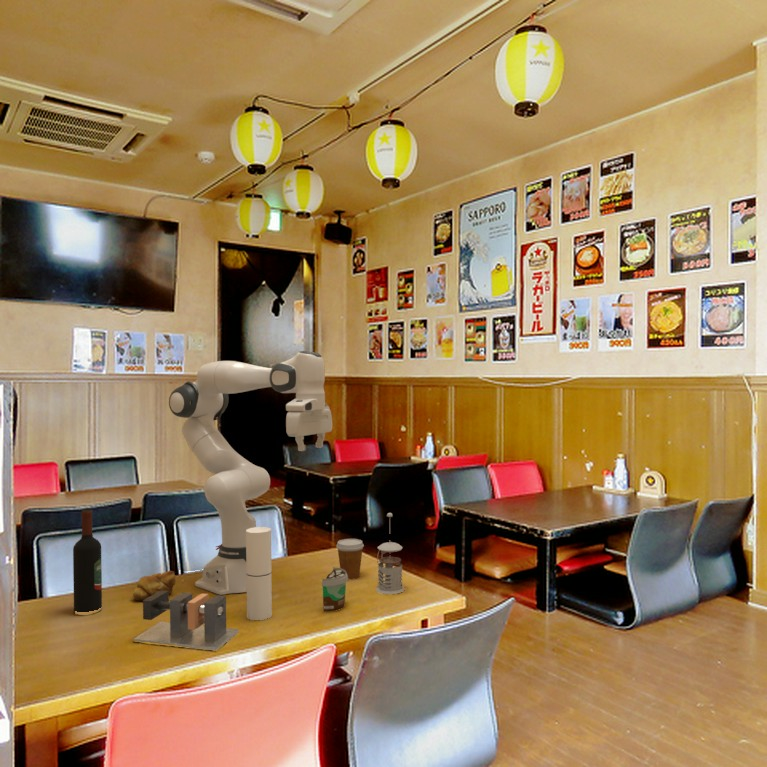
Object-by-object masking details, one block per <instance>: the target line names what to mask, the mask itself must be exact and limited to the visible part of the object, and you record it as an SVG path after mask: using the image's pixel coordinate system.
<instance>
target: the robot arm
mask: <svg viewBox="0 0 767 767" xmlns="http://www.w3.org/2000/svg"><path fill="white" fill-rule="evenodd" d="M325 372H326V371H325V361H324V358H323V356H322V355H321V354H320V353H319V352H314V351H309V350H301V351H299V352H297V353H296V354H295V355H294V356H293V357H291V358H290V359H287V360H284V361H282V362H279V363H276V364H274V365H273V366H272V367H265V366H261V365H255V364H251V363H246V362H241V361H237V360H217V361H211V362H207V363H205V364H203V365H201V366H200V368H198V370H197V373H196V380H194V382H191V381H186V382H185V383H183V384H182V385H181V386H178V387H176V388H175V389H174V390H173V391H172V392H171V393H170V396H169V398H168V406H169V409H170V411H171V413H172V414H173V415H174V416H176V417H179V418H184V419H186V420H185V421H184V422H183V425H182V428H181V432H182V435H183V438H184V439H185V442H186V443H187V445H188V447H189V448H190V450H191V452H192V453H193V455H194V456H195V457H196V459H197V460H198V462H199V463H200V464H201V465H202V467H203V468H204V469H205V470H206V471H208V473H209V472H210V473H212V474H214V475H212V476H210V477H208V478H207V480H206V481H205V483H204V487H203V490H204V496H205V498H206V500H207V501H208V502H209V504H210V505H212V506H214V508H215V509H216V511H217V513H218V516H219V519H220V526H221V543H220V545H216V546H215V550H216V551H217V550H218V552H217V555H216V556H215V557H213V559H211V560H210V561H209V562H207V563H206V564H205V565H204V567H203V568H202V575H201V576H202V577H201V578H199V579H198V580H196V581H195V582H194V586H195V587H197V588H200V589H203V590H205V591H209V592H211V593H213V594H216V595H218V596H223V595H227V594H228V595H229V594H238V593H247V578H246V530H247V529H249V528H254V527H257V521H256V518H255V517H254V516H253V515H252V514H250V513H249V512H248V510H247V506H246V501H249V500H254V499H258V498H259V497H261V496H262V495H264V494H265V493H267V492H268V490H270V486H271V476H270V474H269V473H268V471H267V469H265V468H264V467H261V466H258V465H255V464H253V462H250V461H249V460H248V459H246V458H244V456H242V455H241V454H239V453H238V452H237V451H236V450H235V449H234V448H233V447H232V446H231V444H229V442H228V441H227V439H226V438H225V437H224V436H223V434H222V433H221V432H220V431H219V429H218V428H217V427H216V425H215V423H214V421H218V420H219V419H220V418H221V417H222V414H223V413H224V412H225V411H226V409H227V408H228V404H229V402H230V401H229V395H230V394H233V395H234V394H238V393H244V392H250V391H255V390H258V389H265V388H272V390H274V391H275V392H277V393H281V394H295V398H294V399H292V400H291V401H288V402H287V403H286V404H285V411H287V413H286V417H285V428H286V429H285V430H286V431H285V432H286V434H287V436H288V437H293V438H295V442H296V444H297V451H299V452H305V451H306V444H304V443H305V442H304V440H305V436H311V435H316V436H317V440H316V442H315V448H317V449H321V448H323V446H324V440H325V437H326V433H331V432H332V430H333V416H332V411H331V409H330V406H329V405H328V403H326V392H325V389H324V386H325V380H326V376H325Z"/></svg>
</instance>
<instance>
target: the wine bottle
mask: <svg viewBox="0 0 767 767" xmlns="http://www.w3.org/2000/svg"><path fill="white" fill-rule="evenodd" d="M72 553H73V554H72V556H73V557H72V562H73V563H72V566H73V567H72V570H73V572H72V573H73V576H72V578H73V612H74V611H77V612H89V611H94V610H98V609H99V608H101V607H102V608H103V600H102V598H103V597H102V596H103V595H102V594H103V591H102V590H103V589H102V588H103V587H102V585H103V584H102V583H103V582H102V580H103V579H102V575H103V574H102V543H100V541H99V540H98V539H97V538H95V537H94V535H93V510H92V509H84V510H83V509H82V510H81V537H80V539H79V540H77V542H75V544H74V545H73V548H72Z"/></svg>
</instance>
